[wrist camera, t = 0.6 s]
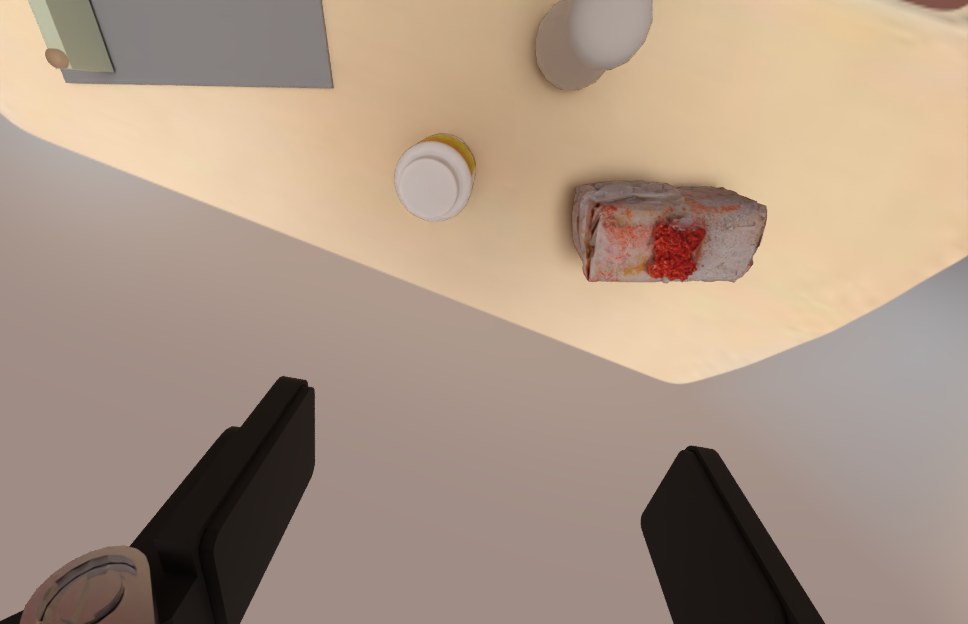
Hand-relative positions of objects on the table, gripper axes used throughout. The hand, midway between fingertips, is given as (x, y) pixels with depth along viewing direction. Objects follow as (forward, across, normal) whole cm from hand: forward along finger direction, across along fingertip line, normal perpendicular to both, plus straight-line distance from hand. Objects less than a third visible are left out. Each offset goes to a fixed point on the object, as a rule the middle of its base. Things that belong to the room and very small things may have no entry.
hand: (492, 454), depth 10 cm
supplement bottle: (+30, +5, -2) cm, 31 cm away
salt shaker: (+30, -3, -12) cm, 33 cm away
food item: (+30, -14, -1) cm, 33 cm away
